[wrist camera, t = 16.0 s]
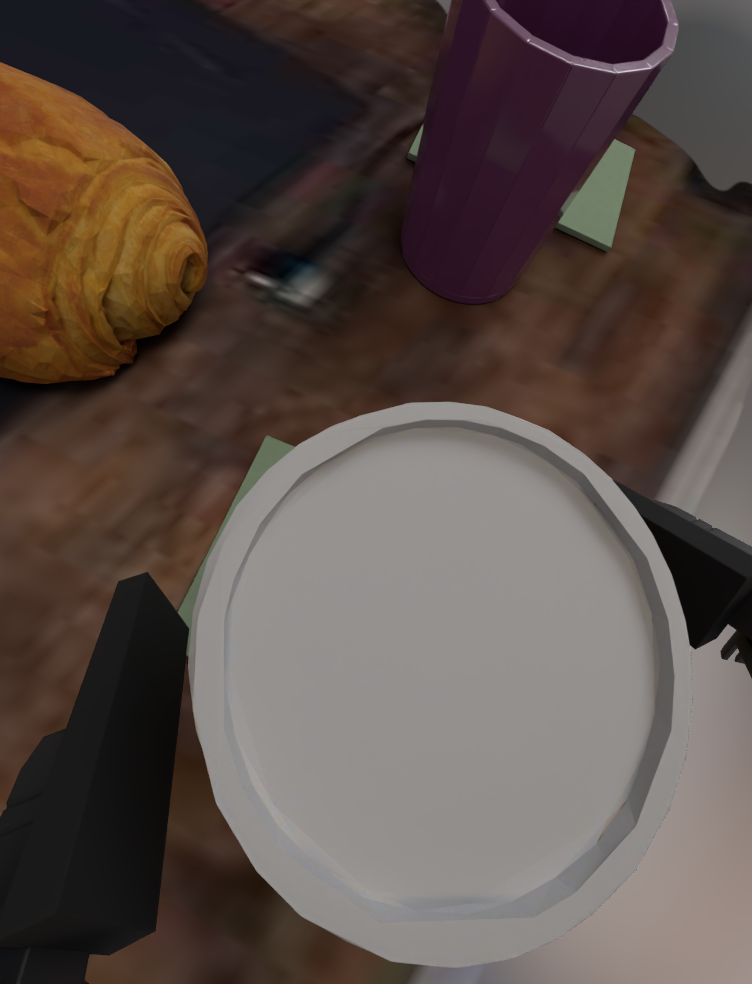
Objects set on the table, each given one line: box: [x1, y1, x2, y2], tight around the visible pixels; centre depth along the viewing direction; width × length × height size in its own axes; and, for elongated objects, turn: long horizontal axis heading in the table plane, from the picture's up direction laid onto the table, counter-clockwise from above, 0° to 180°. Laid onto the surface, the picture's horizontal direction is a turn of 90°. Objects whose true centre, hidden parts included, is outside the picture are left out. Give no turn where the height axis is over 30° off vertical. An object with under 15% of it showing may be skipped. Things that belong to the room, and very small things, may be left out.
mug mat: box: [408, 125, 635, 252], centre depth 26 cm, size 16×11×1 cm
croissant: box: [0, 62, 208, 384], centre depth 16 cm, size 14×16×8 cm
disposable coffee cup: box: [188, 402, 693, 968], centre depth 12 cm, size 10×10×12 cm
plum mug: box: [400, 0, 679, 304], centre depth 18 cm, size 12×9×11 cm
